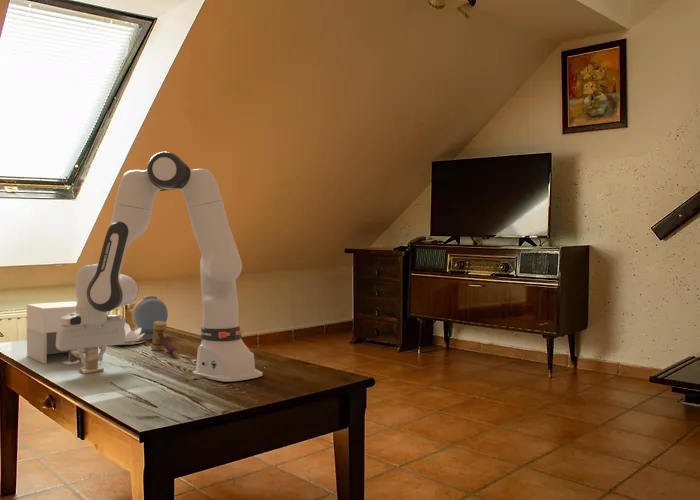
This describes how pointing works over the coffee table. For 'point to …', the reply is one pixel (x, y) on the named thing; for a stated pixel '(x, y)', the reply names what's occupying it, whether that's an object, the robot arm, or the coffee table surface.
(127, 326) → the lotus flower
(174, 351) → the gavel
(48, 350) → the cabinet
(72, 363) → the disc
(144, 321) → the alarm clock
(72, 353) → the hook tool
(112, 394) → the coffee table surface
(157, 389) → the coffee table surface
